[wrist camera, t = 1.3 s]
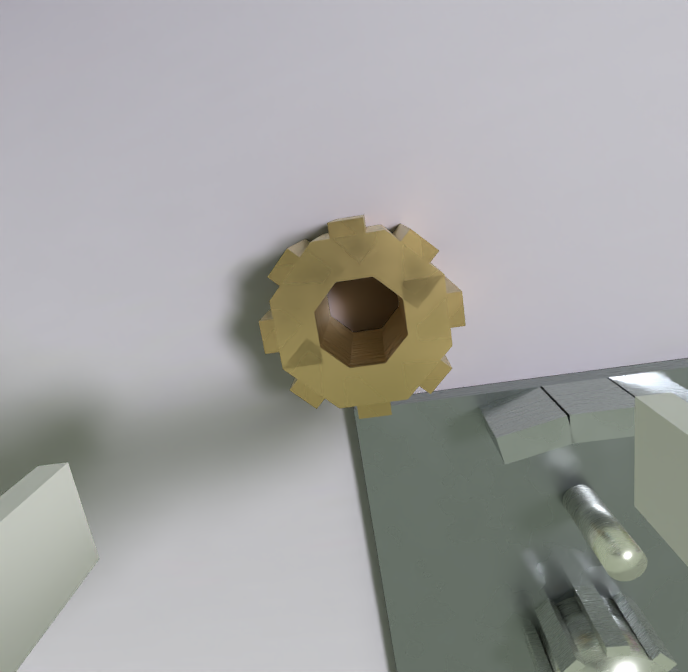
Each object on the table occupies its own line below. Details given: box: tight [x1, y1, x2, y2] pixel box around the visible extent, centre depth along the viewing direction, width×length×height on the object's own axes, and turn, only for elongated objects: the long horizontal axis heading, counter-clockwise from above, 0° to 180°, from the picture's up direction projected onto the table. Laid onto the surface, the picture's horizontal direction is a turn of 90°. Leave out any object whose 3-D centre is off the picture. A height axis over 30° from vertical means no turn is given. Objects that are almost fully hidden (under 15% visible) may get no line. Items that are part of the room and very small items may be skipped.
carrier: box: [354, 358, 688, 672], centre depth 26 cm, size 21×21×6 cm
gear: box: [259, 215, 465, 419], centre depth 23 cm, size 8×8×6 cm
